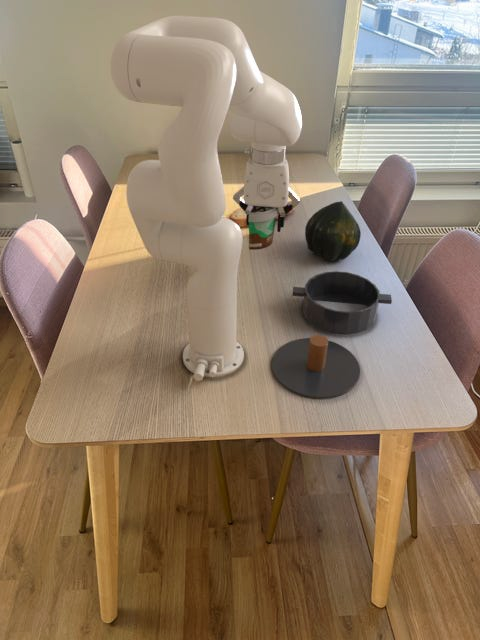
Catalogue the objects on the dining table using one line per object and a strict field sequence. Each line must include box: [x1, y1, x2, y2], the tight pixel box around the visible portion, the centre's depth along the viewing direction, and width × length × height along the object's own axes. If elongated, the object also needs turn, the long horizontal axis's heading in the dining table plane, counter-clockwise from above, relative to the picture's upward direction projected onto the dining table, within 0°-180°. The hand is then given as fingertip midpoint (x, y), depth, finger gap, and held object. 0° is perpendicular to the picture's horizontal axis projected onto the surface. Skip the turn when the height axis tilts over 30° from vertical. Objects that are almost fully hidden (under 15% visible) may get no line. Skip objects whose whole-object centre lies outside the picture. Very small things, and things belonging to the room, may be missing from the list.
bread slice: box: [228, 207, 293, 228], centre depth 158 cm, size 18×18×4 cm
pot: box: [291, 270, 393, 335], centre depth 117 cm, size 17×22×6 cm
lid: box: [271, 334, 361, 400], centre depth 102 cm, size 18×18×8 cm
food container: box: [248, 206, 279, 251], centre depth 123 cm, size 12×6×10 cm, turn 168°
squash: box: [304, 200, 362, 262], centre depth 139 cm, size 14×15×15 cm
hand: (265, 227), depth 124 cm, fingers closed on food container, 6 cm apart
